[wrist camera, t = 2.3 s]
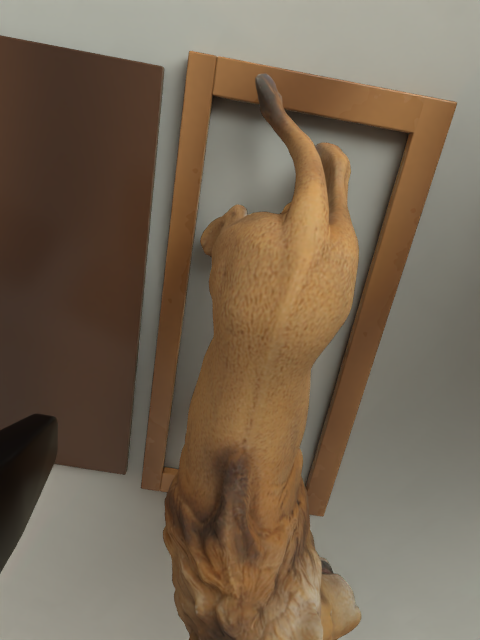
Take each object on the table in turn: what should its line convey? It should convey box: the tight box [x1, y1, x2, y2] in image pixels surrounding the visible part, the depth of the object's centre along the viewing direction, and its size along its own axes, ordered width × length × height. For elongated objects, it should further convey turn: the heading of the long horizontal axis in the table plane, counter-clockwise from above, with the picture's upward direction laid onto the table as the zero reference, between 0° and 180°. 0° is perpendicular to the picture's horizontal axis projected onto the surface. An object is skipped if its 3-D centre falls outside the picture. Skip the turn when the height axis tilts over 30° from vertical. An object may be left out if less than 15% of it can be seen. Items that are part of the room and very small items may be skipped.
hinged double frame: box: [0, 35, 457, 517], centre depth 15 cm, size 16×16×1 cm
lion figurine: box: [163, 73, 361, 640], centre depth 11 cm, size 15×5×9 cm, turn 1°
